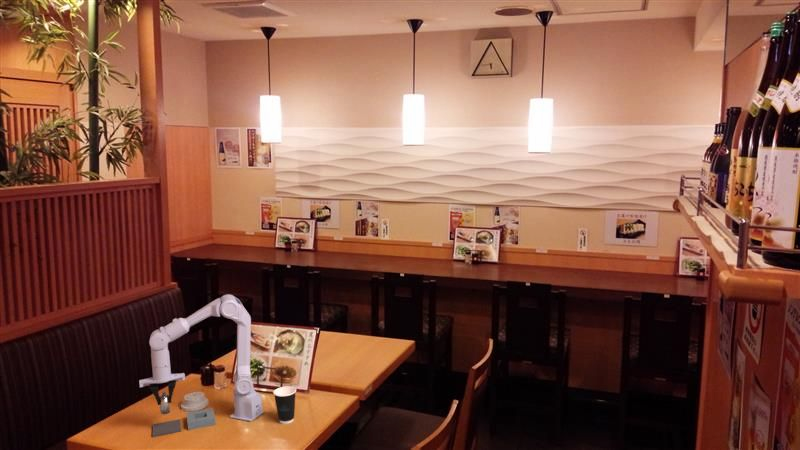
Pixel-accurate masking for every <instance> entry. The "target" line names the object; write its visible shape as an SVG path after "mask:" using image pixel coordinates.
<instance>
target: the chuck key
mask: <svg viewBox="0 0 800 450" xmlns="http://www.w3.org/2000/svg"><path fill="white" fill-rule="evenodd" d="M159 400H160V405H159V408H160V409H159V410H160V414H161V415H168V414H169V413H171V410H170V408H171V406H170V403H169V393H166V391H162V392H161V395H159Z"/></svg>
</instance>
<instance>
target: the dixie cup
mask: <svg viewBox="0 0 800 450" xmlns="http://www.w3.org/2000/svg"><path fill="white" fill-rule="evenodd" d="M296 392H297V388H296V387H293V386H281V387H278V388H276V389H274V390H273V392H272V394H273V395H274V400H275V406H276V411H277V413H276V414H277V416H278V420H279V423H280V424H283V425H287V424H291V423H293V422H294V418H295V408H296V407H295V406H296Z"/></svg>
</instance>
